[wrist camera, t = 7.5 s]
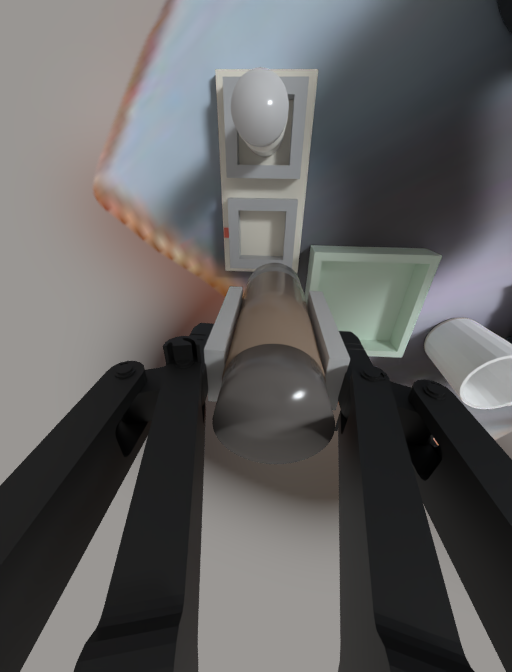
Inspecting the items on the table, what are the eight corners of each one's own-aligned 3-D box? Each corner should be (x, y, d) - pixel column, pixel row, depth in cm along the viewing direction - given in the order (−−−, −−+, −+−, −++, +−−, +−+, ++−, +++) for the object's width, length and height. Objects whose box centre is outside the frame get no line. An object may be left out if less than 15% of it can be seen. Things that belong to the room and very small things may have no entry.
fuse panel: (217, 73, 26) (211, 61, 23) (316, 72, 25) (321, 61, 23) (226, 268, 36) (223, 275, 34) (296, 270, 36) (298, 277, 33)
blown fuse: (246, 260, 17) (207, 376, 7) (305, 263, 17) (350, 386, 7) (245, 312, 19) (214, 460, 9) (298, 316, 19) (324, 469, 9)
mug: (410, 337, 40) (447, 380, 32) (469, 302, 37) (530, 341, 28) (439, 377, 44) (480, 426, 35) (496, 349, 41) (557, 396, 32)
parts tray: (310, 245, 34) (314, 252, 31) (425, 248, 33) (442, 255, 30) (299, 339, 42) (301, 353, 39) (392, 343, 41) (402, 357, 38)
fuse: (246, 110, 26) (228, 66, 16) (284, 110, 26) (292, 66, 16) (246, 157, 28) (231, 144, 18) (282, 157, 28) (287, 145, 18)
